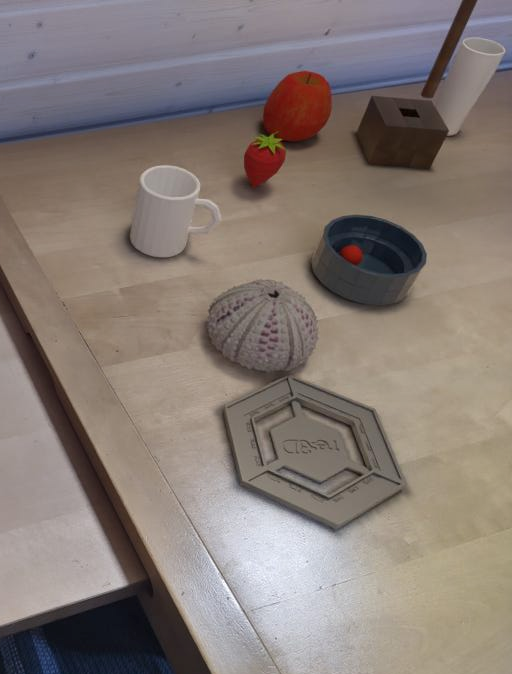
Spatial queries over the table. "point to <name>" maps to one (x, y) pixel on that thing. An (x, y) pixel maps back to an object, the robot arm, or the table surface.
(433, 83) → the stirring stick
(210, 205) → the mug
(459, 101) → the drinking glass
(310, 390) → the grey hexagonal plate
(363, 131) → the holder
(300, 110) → the apple
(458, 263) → the table surface
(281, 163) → the strawberry
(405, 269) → the bowl
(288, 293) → the sea urchin shell
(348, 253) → the ball
